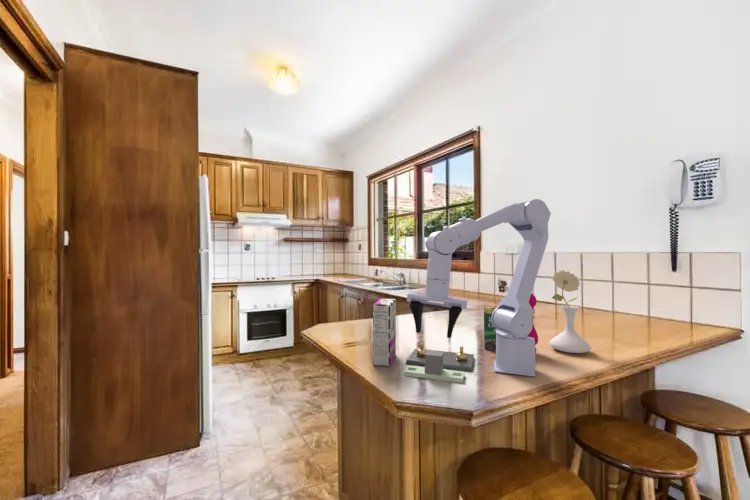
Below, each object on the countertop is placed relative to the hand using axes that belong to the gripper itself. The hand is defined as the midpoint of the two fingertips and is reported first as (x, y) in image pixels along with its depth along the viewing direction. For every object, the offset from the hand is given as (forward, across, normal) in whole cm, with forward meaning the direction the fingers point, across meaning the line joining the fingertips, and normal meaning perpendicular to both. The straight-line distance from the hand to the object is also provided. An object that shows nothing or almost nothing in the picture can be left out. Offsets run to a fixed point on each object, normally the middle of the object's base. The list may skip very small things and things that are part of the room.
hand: (433, 334), depth 87 cm
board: (+10, +1, 0) cm, 10 cm away
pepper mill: (+8, +22, +31) cm, 39 cm away
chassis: (+9, 0, +12) cm, 16 cm away
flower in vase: (+6, +34, +40) cm, 53 cm away
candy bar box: (+11, -14, +7) cm, 19 cm away
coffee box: (+8, +14, +30) cm, 34 cm away
